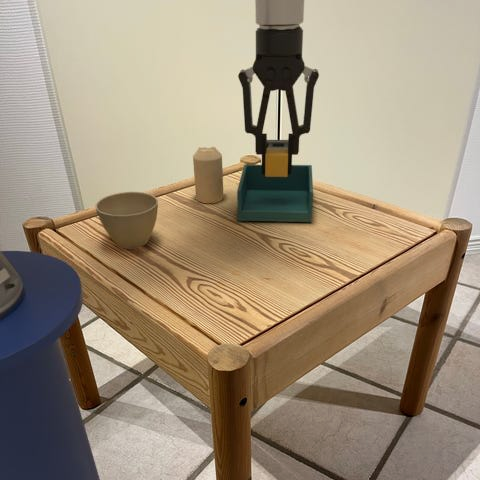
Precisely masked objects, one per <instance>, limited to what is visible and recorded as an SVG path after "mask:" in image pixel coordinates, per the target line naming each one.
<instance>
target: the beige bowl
mask: <svg viewBox="0 0 480 480" xmlns="http://www.w3.org/2000/svg"><path fill="white" fill-rule="evenodd" d="M158 208H159V200H158V198H157V197H156V196H155V195H153V194H150V193H148V192H143V191H124V192H123V191H121V192H116V193H113V194H112V193H111V194H109V195H106V196H104V197H102V198H100V199H99V200H98V201H96V203H95V211H96V214H97V216H98V219H99V221H100V223H101V225H102V226H103V228H104V230H105V231H106V233H107V234H108V236H109V237H110V238H111V239H112V241H113V242H114V243H115V244H116V245H117V246H118V247H119V248H121V249H127V250H133V249H134V250H135V249H139V248H142V247H144V246H146V245H147V243H148V241H149V240H150V238H151V236H152V235H153V232H154V228H155V225H156V221H157V217H158Z"/></svg>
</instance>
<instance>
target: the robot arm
mask: <svg viewBox="0 0 480 480" xmlns="http://www.w3.org/2000/svg"><path fill="white" fill-rule="evenodd" d="M254 3H255V8H254V9H255V14H254V15H255V16H254V17H255V24H256V25H257V26H258V27H257V28H256V30H255V59H254V62H253V64H252V66H251V67H248V68H246V69H241V70H240V71H239V73H238V75H237V77H238V79H239V83H240V86H241V88H242V103H243V104H242V105H243V119H244V120H243V121H244V122H243V123H244V132H245V133H246V134H250V135H253V136H254V138H255V141H254V142H255V143H254V144H255V147H254V148H255V154H256V155H257V156H259V155H260V156H261V165H262V174H265V155H266V150H267V140H268V134H267V133H264V126H265V121H266V117H267V112H268V107H269V102H270V96H271V92H275V91H277V90H279V91H282V92H285V98H286V104H287V108H288V109H287V110H288V114H289V121H290V127H291V133H288V138H287V140H288V174H291V173H292V165H293V156H297V155H299V153H300V138H301V136H303V135H305V134H309V133H310V132H311V127H312V126H311V124H312V114H313V104H314V91H315V86H316V84H317V82H318V79H319V77H320V72H319V70H318V69H317V68H311V67H309V66H306V65H305V62H304V59H303V43H304V29H303V28H302V26H301V25H302V23H304V15H305V0H254ZM302 74H303V75H304V78H303V80H304V82H305V83H306V86H305V99H304V111H303V112H304V113H303V121H302V123H303V124H299V119H298V118H299V117H298V110H297V105H296V104H297V103H296V98H295V92H294V85H296V82H297V81H298V80H299V79H300V77H301V75H302ZM254 75H255V76H256V77H257V79H258V81H259V82H260V83H261V85H262V86H263V91H262V96H261V101H260V106H259V112H258V117H257V120H256V121H257V122H256V124H254V123H253V121H254V119H253V102H252V84H251V83H252V82H253V80H254ZM1 251H2V250H0V320H2V319H3V318H5V317H6V316H8V315H9V314H11V313H12V312H13V311H14V310H15V309H16V308H17V307H18V306H19V305H20V304H21V302H22V300H23V298H24V295H25V290H24V287H23V284H22V280H21V278H20V276H19V275H18V273H17V272H16V270H15V269H14V268H13V266H12V265H11V264H10V262H9V261H8V260H7V259H6V257H5V256H4V255H3V253H2V252H1Z"/></svg>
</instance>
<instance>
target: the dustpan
mask: <svg viewBox="0 0 480 480" xmlns="http://www.w3.org/2000/svg"><path fill="white" fill-rule="evenodd" d="M267 148H288V139H267ZM313 183H314V182H313V165H312V164H292V173H291V174H288V175H287V177H265V174H262V164H243V167H242V171H241V175H240V179H239V183H238V187H237V190H236V196H237V197H236V199H237V200H236V201H237V221H243V222H245V221H246V222H248V221H249V222H294V223H295V222H297V223H299V222H300V223H312V218H313V217H312V216H313V203H314V202H313V201H314V184H313Z"/></svg>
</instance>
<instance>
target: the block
mask: <svg viewBox="0 0 480 480" xmlns="http://www.w3.org/2000/svg"><path fill="white" fill-rule="evenodd" d="M287 175H288V148H267V150H266V155H265V177H287Z"/></svg>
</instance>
